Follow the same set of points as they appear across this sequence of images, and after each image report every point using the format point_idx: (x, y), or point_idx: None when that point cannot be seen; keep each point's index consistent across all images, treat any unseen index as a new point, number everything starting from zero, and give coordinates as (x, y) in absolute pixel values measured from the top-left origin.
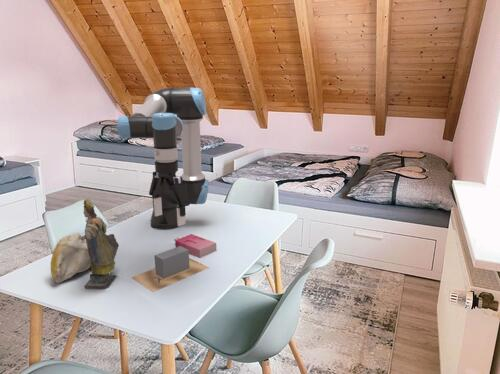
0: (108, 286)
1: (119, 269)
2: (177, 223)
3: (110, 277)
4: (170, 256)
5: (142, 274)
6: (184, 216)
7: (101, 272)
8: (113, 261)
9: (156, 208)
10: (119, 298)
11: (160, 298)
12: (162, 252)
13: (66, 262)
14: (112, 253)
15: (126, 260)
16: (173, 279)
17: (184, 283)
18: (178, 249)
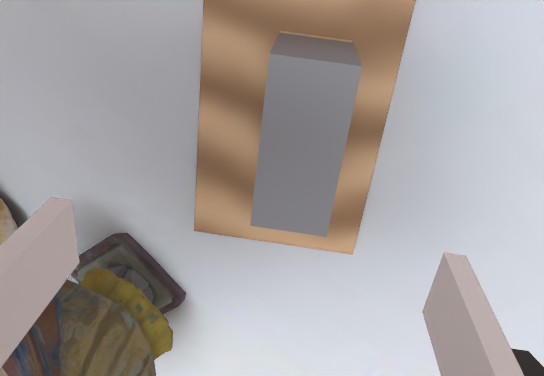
0: (181, 291)
1: (81, 195)
2: (427, 327)
3: (135, 264)
4: (333, 193)
5: (206, 192)
6: (491, 320)
7: (163, 352)
8: (114, 294)
9: (35, 307)
10: (275, 311)
11: (393, 250)
12: (256, 181)
13: (5, 372)
14: (97, 321)
15: (17, 127)
16: (350, 150)
17: (398, 127)
18: (300, 100)
